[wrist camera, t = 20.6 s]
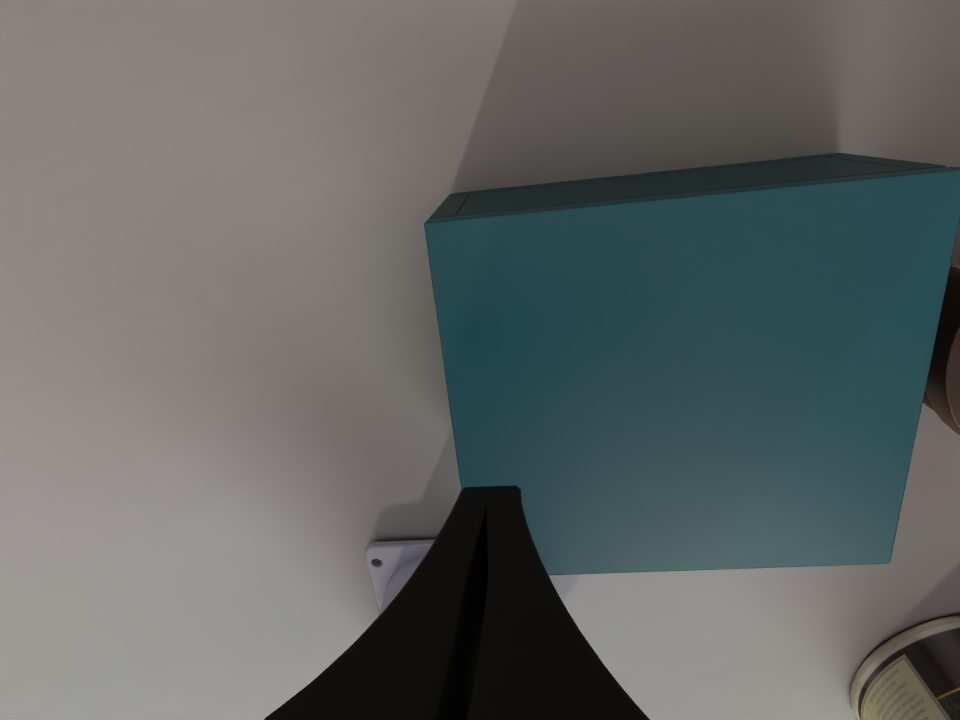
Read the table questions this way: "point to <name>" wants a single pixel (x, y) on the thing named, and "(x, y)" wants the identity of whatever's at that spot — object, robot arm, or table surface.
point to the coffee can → (912, 675)
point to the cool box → (671, 183)
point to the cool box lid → (699, 367)
